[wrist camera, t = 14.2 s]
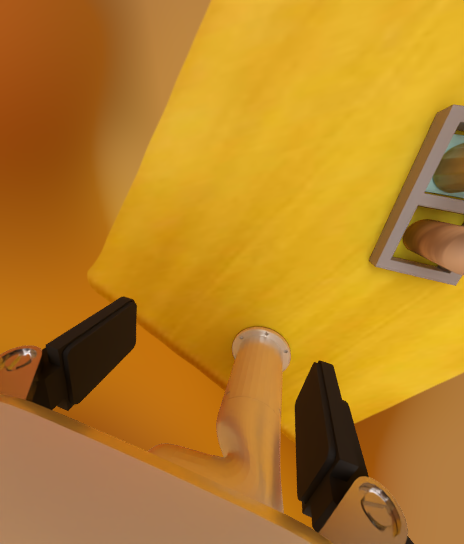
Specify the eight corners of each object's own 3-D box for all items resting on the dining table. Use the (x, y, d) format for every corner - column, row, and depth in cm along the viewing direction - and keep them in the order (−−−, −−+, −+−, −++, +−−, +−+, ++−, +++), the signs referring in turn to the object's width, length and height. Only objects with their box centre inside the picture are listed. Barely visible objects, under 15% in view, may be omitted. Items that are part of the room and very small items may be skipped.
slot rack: (442, 277, 34) (455, 285, 31) (368, 260, 36) (375, 266, 33) (537, 125, 26) (567, 118, 23) (437, 113, 28) (453, 104, 25)
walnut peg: (431, 255, 33) (485, 280, 24) (396, 247, 34) (435, 269, 25) (450, 223, 31) (516, 237, 22) (412, 216, 32) (461, 226, 23)
